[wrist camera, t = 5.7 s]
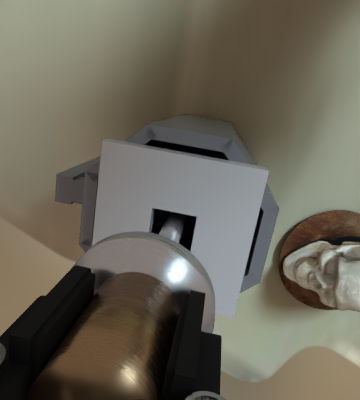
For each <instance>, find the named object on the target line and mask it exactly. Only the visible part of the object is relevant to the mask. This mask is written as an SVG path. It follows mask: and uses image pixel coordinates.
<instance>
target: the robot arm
mask: <svg viewBox="0 0 360 400" xmlns="http://www.w3.org/2000/svg"><path fill="white" fill-rule="evenodd" d="M95 277H96V275H95V273H91V268H87V267H83V266H78V265H75V266H74V267H73V268H72V269H71V270H70V271H69V272H68V273H67V274H66V275H65V276H64V277H63V278H62V279H61V280H60V281H59V282H58V284H57V285H56V286H55V287H54V288H53V289H52V290H51V291H50V292H49V293H48V294H47V295H46V296H40V297H39V298H37V299H36V300H35V301H34V303H32V305H31V306H30V307H29V308H28V309H27V310H26V311H25V312H24V313H23V314H22V315H21V316H20V317H19V318H18V319H17V320H16V321H15V322H14V323H13V324H12V325H11V326H10V327H9V328H8V329H7V330H6V331H5V332H4V333H3V334H2V335H1V336H0V400H27V396H28V393H29V390H30V388H31V386H32V384H33V383H34V381H35V380H36V378H37V377H38V375H39V374H40V372H41V371H42V370H43V368H44V367H45V365H46V364H47V362H48V361H49V360H50V358H51V357H52V355H53V354H54V352H55V351H56V349H57V348H58V347H59V345H60V344H61V342H62V341H63V339H64V338H65V336H66V335H67V334H68V332H69V331H70V329H71V328H72V326H73V325H74V324H75V322H76V321H77V319H78V318H79V316H80V315H81V313H82V312H83V311H84V309H85V308H86V306H87V305H88V303H89V302H90V301H91V299H92V298H93V296H94V287H95ZM205 295H206V293H203V292H198V291H194V290H191V291H190V294H188V293H184V295H183V299H182V304H181V308H180V312H179V317H178V321H177V325H176V330H175V334H174V338H173V343H172V347H171V351H170V356H169V360H168V364H167V369H166V374H165V379H164V384H163V389H162V395H161V400H226V399H224V398H223V397H222V396H220V370H221V336H220V335H216V334H211V333H207V332H202V331H201V329H202V320H203V312H204V303H205Z"/></svg>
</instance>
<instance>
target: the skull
mask: <svg viewBox="0 0 360 400" xmlns="http://www.w3.org/2000/svg"><path fill="white" fill-rule="evenodd" d="M306 221H307V222H306ZM279 271H280V275H281V279H282V281H283V283H284V285H285V287H286V288H287V290H288V291H289V292H290V293H291V294H292V295H293V296H294V297H295V298H296V299H298V300H299V301H301V302H302V303H304V304H307V305H309V306H311V307H314V308H319V309H326V310H333V309H334V310H335V309H337V310H353V311H359V312H360V214H359V213H356V212H351V211H345V210H334V211H327V212H323V213H320V214H317V215H314V216H312V217H310V218H308V219H306V220H305V221H303V222H302V223H300V224H299V225H298V226H297V227H296V228H295V229H294V230H292V231H291V233H290V234H289V236H288V237H287V238H286V240H285V242H284V244H283V247H282V249H281V252H280V257H279Z"/></svg>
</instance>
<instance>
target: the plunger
mask: <svg viewBox="0 0 360 400" xmlns="http://www.w3.org/2000/svg"><path fill="white" fill-rule="evenodd" d="M164 149H169V150H175V151H180V152H186V153H191V154H196V155H202V156H207V157H213V158H218V159H224V160H229V159H228V158H227V157H226V156H225V155H224V154H223V153H222V152H220V151H214V150H209V149H203V148H198V147H192V146H187V145H181V144H176V143H174V144H171V145H169V146H167V147H165V148H164ZM196 219H197V217H196V216H191V215H186V214H181V213H176V212H171V211H166V210H161V209H155V211H154V218H153V220H154V221H155V222H156V223H157V224H158V225H159V226H161V227H162V229H161V231H160V233H159V235H158V234H154V233H149V232H142V231H130V232H122V233H118V234H114V235H111V236H109V237H106V238H104V239H102V240H100V241H99V242H97V243H96V244H94V245H93V246H92V247H91V248H89V250H88V251H87V252H86V253H85V254H84V255H83V256H82V257H81V258H80V259H79V260H78V261H77V262H76V263H75V265H78V266H83V267H87V268H91V273H95V275H96V277H95V287H94V296H93V298H92V299H91V301H90V302H89V303H88V305H87V306H86V308H85V309H84V311H83V312H82V313H81V315H80V316H79V318H78V319H77V321H76V322H75V324H74V325H73V326H72V328H71V329H70V331H69V332H68V334H67V335H66V336H65V338H64V339H63V341H62V342H61V344H60V345H59V347H58V348H57V349H56V351H55V352H54V354H53V355H52V357H51V358H50V360H49V361H48V362H47V364H46V365H45V367H44V368H43V370H42V371H41V372H40V374H39V375H38V377H37V378H36V380H35V381H34V383H33V384H32V386H31V388H30V390H29V393H28V396H27V400H161V395H162V389H163V384H164V379H165V374H166V369H167V364H168V360H169V356H170V351H171V347H172V343H173V338H174V334H175V330H176V325H177V321H178V317H179V312H180V308H181V304H182V299H183V295H184V293H188V294H190V291H191V290H194V291H198V292H203V293H206V295H205V303H204V312H203V320H202V329H201V331H202V332H207V333H211V334H212V332H213V328H214V321H215V294H214V289H213V285H212V282H211V280H210V277H209V275H208V273H207V271H206V270H205V268H204V267H203V265H202V264H201V263H200V261H199V260H198V259H197V258H196V257H195V256H194V255H193V254H192V253H191V252H190V251H189V250H187V249H186V248H185V247H183V246H182V245H180V244H179V240H180V237H181V236H184V237H193V235H194V230H195V225H196ZM75 265H74V266H75ZM74 266H73V267H74ZM73 267H72V268H73Z"/></svg>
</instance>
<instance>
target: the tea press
mask: <svg viewBox="0 0 360 400" xmlns="http://www.w3.org/2000/svg"><path fill="white" fill-rule="evenodd" d="M174 143H176V144H181V145H187V146H192V147H198V148H203V149H209V150H214V151H220V152H222V153H223V154H224V155H225V156H226V157H227V158H228V159H229V160H224V159H218V158H213V157H207V156H202V155H196V154H191V153H186V152H180V151H175V150H169V149H164V148H165V147H167V146H169V145H171V144H174ZM268 174H269V170H268V168H267V167H262V166H258V164H257V162H256V160H255V159H254V157H253V156H252V154H251V153H250V151H249V150H248V148H247V147H246V145H245V144H244V142H243V141H242V139H241V138H240V136H239V135H238V133H237V132H236V130H235V129H234V127H233V126H232V124H231V123H230V122H227V121H221V120H216V119H210V118H204V117H198V116H193V115H187V114H184V115H180V116H177V117H173V118H169V119H165V120H161V121H157V122H154V123H150V124H147V125H146V126H145V127H143V128H142V129H141V130H139V131H138V132H137V133H135V134H134V135H133V136H131V137H130V138H129V139H127V140H126V141H120V140H115V139H109V138H108V139H104V140H102V147H101V156H99V157H97V158H95V159H92V160H90V161H87V162H85V163H83V164H80V165H78V166H75V167H73V168H71V169H68V170H66V171H63V172H61V173H59V174H57V180H56V197H55V201H57V202H62V203H67V204H72V203H74V202H76V203H81V204H82V216H81V227H80V239H79V245H80V246H81V247H82V248H83V250H84V251H85V252H87V251H88V250H89V248H91V247H92V246H93V245H94V244H96V243H97V242H99V241H100V240H102V239H104V238H106V237H109V236H111V235H114V234H118V233H122V232H130V231H142V232H149V233H154V234H158V235H159V233H160V231H161V229H162V227H161V226H159V225H158V224H157V223H156V222H155V221H154V220H153V218H154V211H155V209H161V210H166V211H171V212H176V213H181V214H186V215H191V216H196V217H197V219H196V225H195V230H194V235H193V237H184V236H181V237H180V240H179V244H180V245H182V246H183V247H185V248H186V249H187V250H189V251H190V252H191V253H192V254H193V255H194V256H195V257H196V258H197V259H198V260H199V261H200V263H201V264H202V265H203V267H204V268H205V270H206V271H207V273H208V275H209V277H210V280H211V282H212V285H213V289H214V294H215V314H217V315H222V316H226V317H231V318H234V314H235V310H236V306H237V302H238V297H239V293H241V292H243V291H245V290H247V289H249V288H250V287H252V286H254V285H256V284H258V283H260V280H261V277H262V273H263V269H264V265H265V261H266V257H267V253H268V250H269V246H270V242H271V238H272V234H273V230H274V226H275V223H276V219H277V215H278V211H279V207H278V205H277V203H276V201H275V199H274V197H273V195H272V193H271V191H270V189H269V187H268V185H267V183H266V182H267V178H268Z"/></svg>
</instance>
